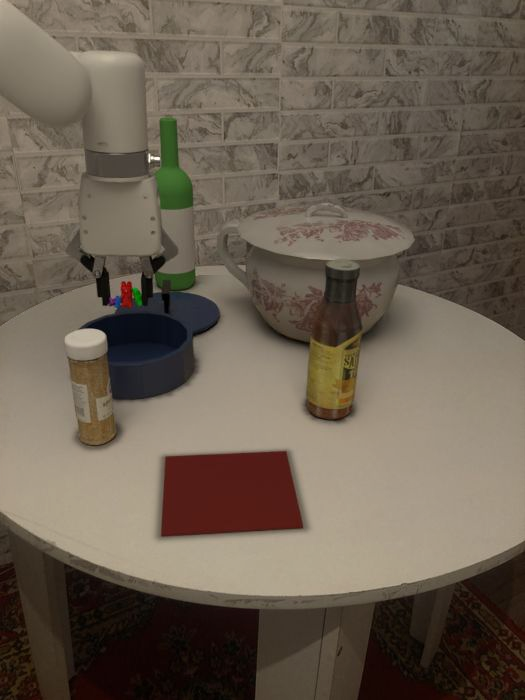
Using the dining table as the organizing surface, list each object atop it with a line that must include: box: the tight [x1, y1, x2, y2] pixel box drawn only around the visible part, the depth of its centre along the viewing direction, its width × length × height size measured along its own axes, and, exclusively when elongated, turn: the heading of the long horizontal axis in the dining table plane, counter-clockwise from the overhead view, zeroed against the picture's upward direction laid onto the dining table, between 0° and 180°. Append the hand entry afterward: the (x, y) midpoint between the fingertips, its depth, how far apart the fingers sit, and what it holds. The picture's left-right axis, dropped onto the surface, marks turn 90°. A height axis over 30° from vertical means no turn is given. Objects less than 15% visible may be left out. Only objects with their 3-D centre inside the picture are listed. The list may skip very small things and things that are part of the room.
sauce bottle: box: [305, 259, 363, 420], centre depth 74 cm, size 6×6×20 cm
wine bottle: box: [152, 117, 196, 291], centre depth 108 cm, size 8×8×30 cm
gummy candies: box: [108, 280, 142, 309], centre depth 80 cm, size 5×3×4 cm, turn 88°
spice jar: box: [63, 329, 118, 446], centre depth 69 cm, size 5×5×14 cm
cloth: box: [160, 450, 304, 537], centre depth 64 cm, size 14×12×1 cm
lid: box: [114, 280, 220, 335], centre depth 100 cm, size 18×18×6 cm
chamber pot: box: [215, 202, 416, 343], centre depth 96 cm, size 28×28×21 cm
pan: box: [77, 311, 195, 400], centre depth 85 cm, size 17×17×5 cm
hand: (126, 300), depth 81 cm, fingers closed on gummy candies, 4 cm apart
